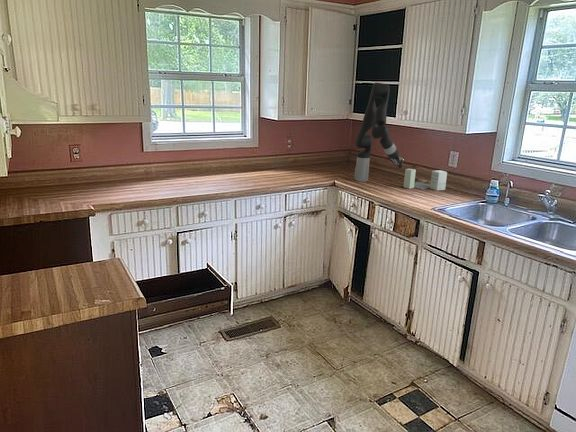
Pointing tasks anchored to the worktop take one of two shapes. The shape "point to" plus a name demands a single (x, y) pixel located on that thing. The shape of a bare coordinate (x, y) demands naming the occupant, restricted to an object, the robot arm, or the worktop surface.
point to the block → (409, 178)
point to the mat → (421, 185)
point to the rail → (424, 181)
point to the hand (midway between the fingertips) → (400, 167)
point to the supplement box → (438, 180)
